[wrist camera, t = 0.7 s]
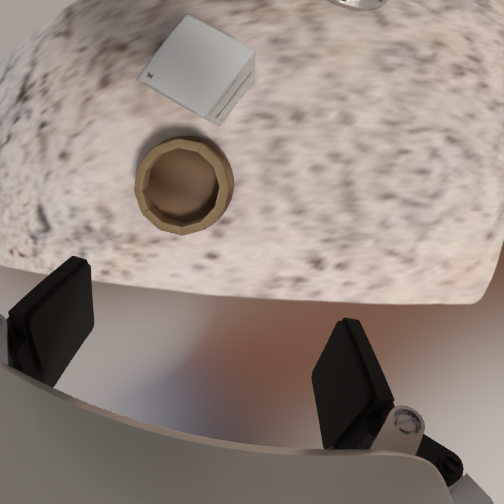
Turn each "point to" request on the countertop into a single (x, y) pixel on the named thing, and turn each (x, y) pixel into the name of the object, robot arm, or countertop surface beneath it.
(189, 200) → the coaster tray
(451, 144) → the countertop surface
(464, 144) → the countertop surface
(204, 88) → the supplement box
